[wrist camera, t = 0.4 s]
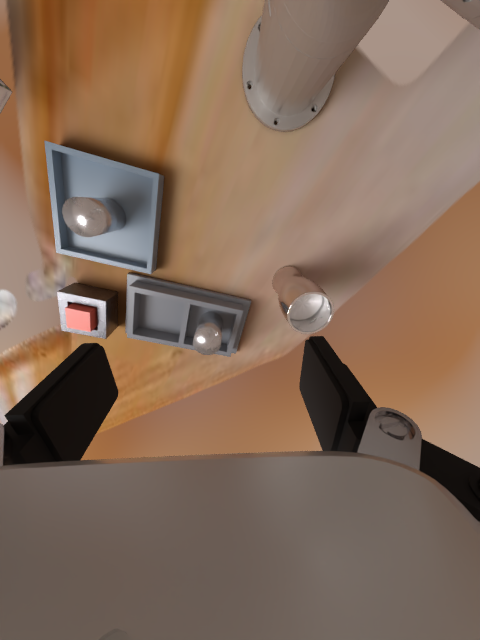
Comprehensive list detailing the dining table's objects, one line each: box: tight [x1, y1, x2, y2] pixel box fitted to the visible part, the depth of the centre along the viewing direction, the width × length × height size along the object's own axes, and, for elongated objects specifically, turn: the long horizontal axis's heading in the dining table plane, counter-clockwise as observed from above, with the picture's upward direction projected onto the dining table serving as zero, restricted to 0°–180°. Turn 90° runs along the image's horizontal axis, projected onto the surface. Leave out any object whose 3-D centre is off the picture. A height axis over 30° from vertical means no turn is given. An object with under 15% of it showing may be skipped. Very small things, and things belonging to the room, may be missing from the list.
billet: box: [62, 197, 126, 237], centre depth 34 cm, size 5×5×8 cm
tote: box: [45, 141, 164, 274], centre depth 37 cm, size 16×16×3 cm
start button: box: [65, 302, 98, 332], centre depth 42 cm, size 4×4×3 cm
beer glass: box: [272, 266, 334, 334], centre depth 38 cm, size 7×7×15 cm
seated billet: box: [193, 312, 223, 355], centre depth 44 cm, size 5×5×8 cm
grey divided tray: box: [125, 272, 251, 357], centre depth 46 cm, size 13×24×4 cm, turn 76°
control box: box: [57, 283, 118, 339], centre depth 44 cm, size 8×8×5 cm
